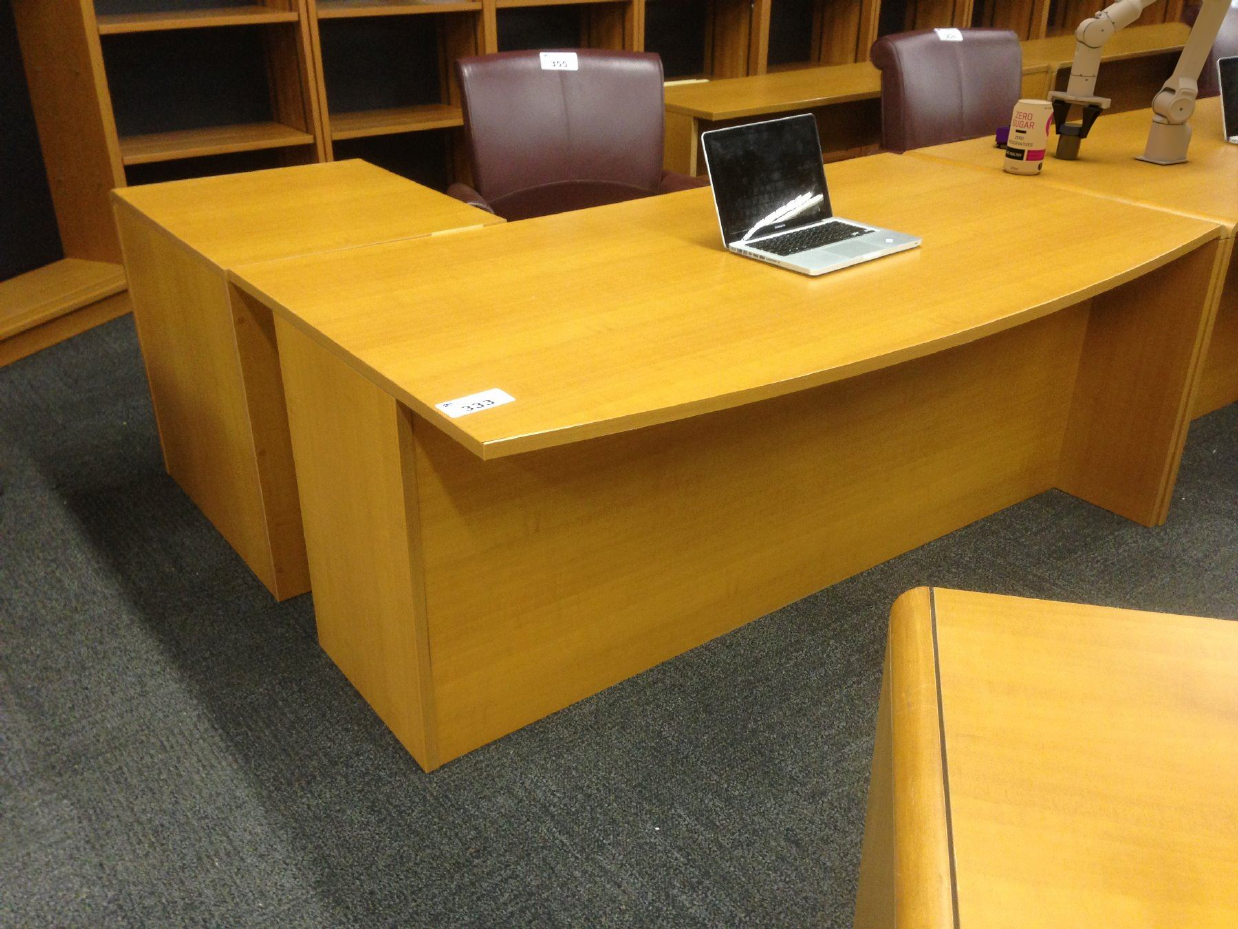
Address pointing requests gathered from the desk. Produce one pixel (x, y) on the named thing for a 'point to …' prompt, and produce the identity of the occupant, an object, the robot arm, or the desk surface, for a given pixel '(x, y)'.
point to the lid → (1070, 128)
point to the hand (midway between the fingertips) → (1070, 136)
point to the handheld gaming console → (1002, 136)
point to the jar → (1068, 146)
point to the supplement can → (1028, 136)
